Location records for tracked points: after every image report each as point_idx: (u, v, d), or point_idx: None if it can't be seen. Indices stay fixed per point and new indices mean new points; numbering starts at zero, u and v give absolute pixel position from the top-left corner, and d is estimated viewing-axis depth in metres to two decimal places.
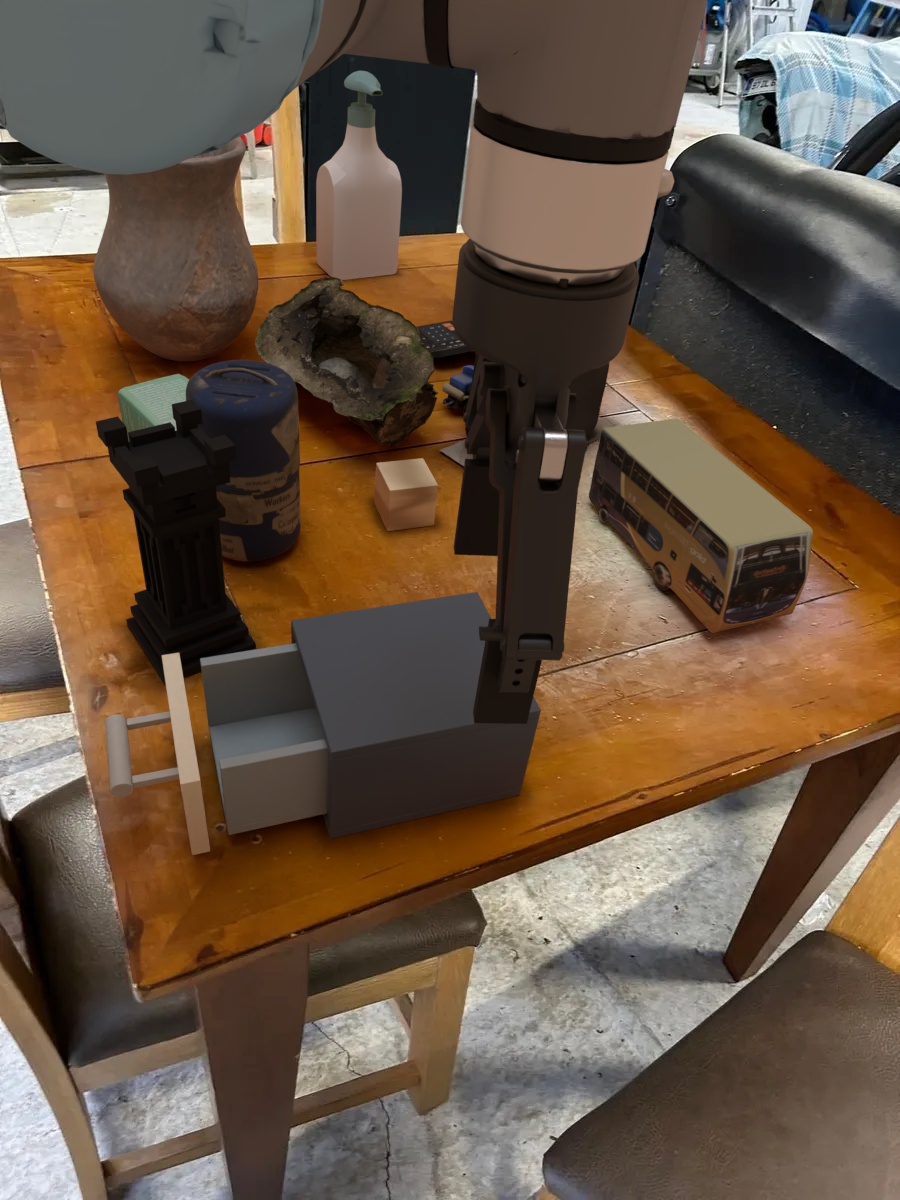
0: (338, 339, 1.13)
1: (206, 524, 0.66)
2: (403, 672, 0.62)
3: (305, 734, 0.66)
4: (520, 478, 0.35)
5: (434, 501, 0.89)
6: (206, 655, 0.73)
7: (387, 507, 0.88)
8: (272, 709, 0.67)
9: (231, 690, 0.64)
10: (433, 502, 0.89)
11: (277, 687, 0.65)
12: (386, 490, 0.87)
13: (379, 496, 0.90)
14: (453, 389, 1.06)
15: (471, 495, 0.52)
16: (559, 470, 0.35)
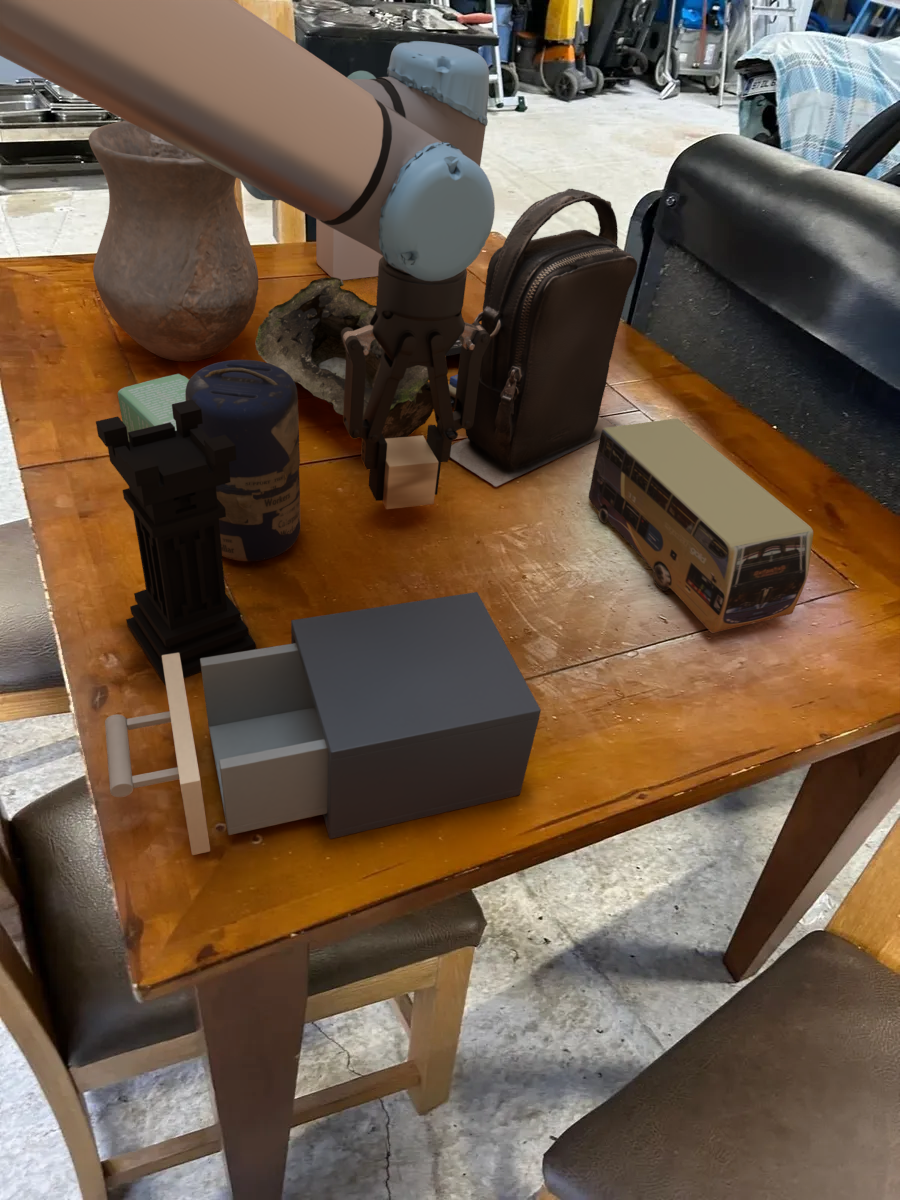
0: (338, 340, 1.13)
1: (206, 524, 0.66)
2: (403, 672, 0.62)
3: (305, 734, 0.66)
4: (346, 348, 0.79)
5: (434, 479, 0.87)
6: (206, 655, 0.73)
7: (386, 484, 0.86)
8: (272, 709, 0.67)
9: (231, 690, 0.64)
10: (433, 480, 0.87)
11: (277, 687, 0.65)
12: (385, 467, 0.85)
13: None
14: (453, 389, 1.06)
15: None
16: (348, 352, 0.77)
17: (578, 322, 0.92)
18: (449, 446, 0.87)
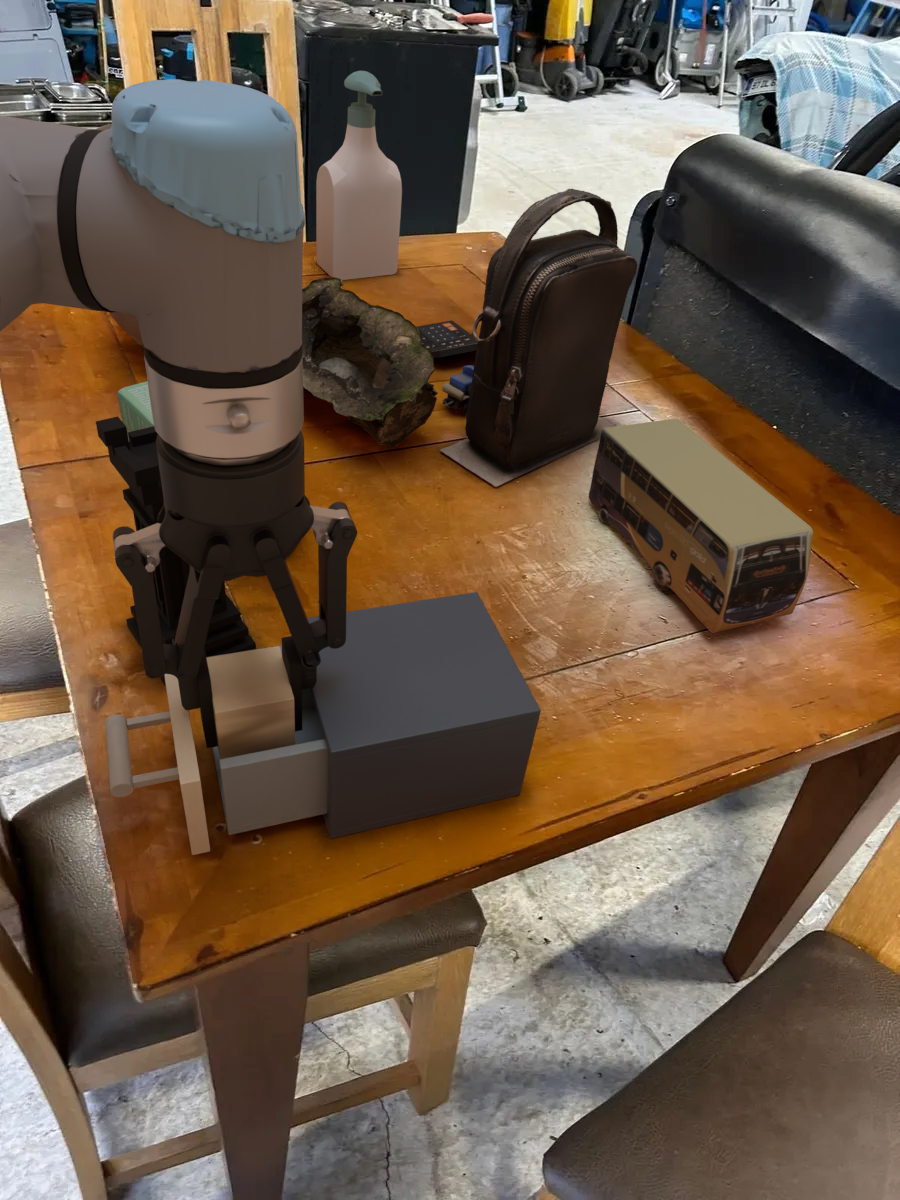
0: (338, 339, 1.13)
1: None
2: (403, 672, 0.62)
3: (305, 734, 0.66)
4: None
5: (291, 719, 0.58)
6: (206, 655, 0.73)
7: (216, 732, 0.57)
8: None
9: None
10: (290, 720, 0.58)
11: None
12: (213, 708, 0.57)
13: None
14: (453, 389, 1.06)
15: None
16: None
17: (578, 322, 0.92)
18: (313, 669, 0.58)
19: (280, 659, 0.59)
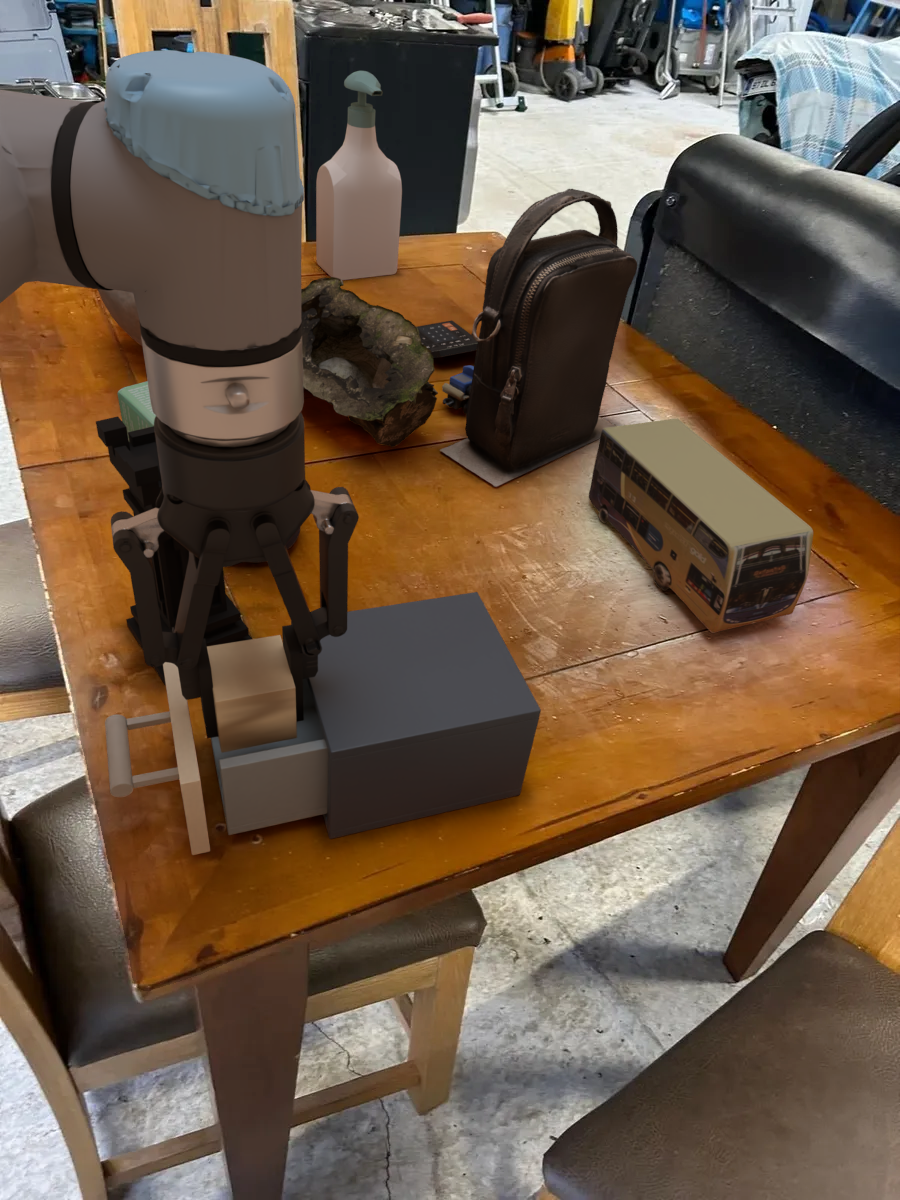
0: (338, 339, 1.13)
1: None
2: (403, 672, 0.62)
3: (305, 734, 0.66)
4: None
5: (292, 708, 0.57)
6: None
7: (217, 721, 0.56)
8: None
9: None
10: (291, 710, 0.57)
11: None
12: None
13: None
14: (453, 389, 1.06)
15: None
16: None
17: (578, 322, 0.92)
18: (314, 658, 0.58)
19: (281, 648, 0.59)
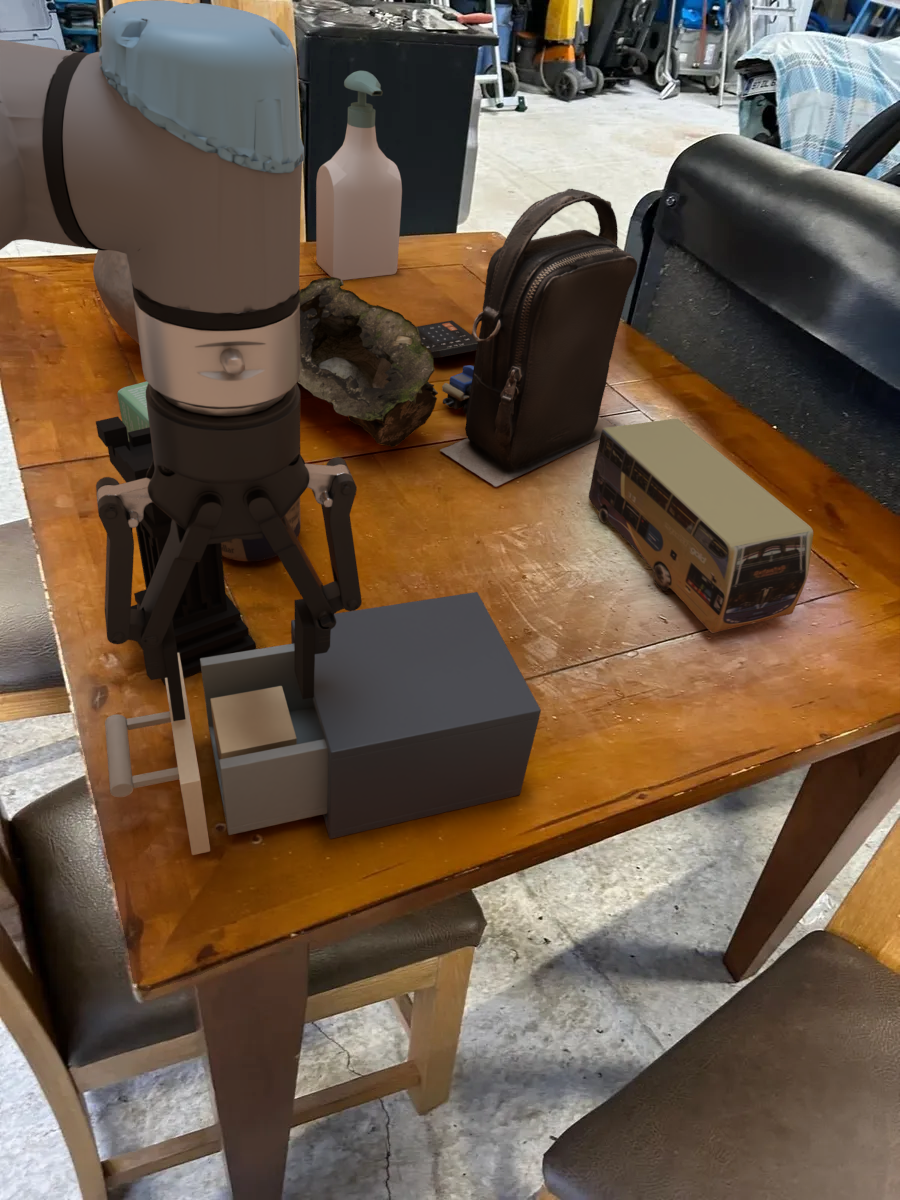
0: (338, 340, 1.13)
1: None
2: (403, 672, 0.62)
3: (305, 734, 0.66)
4: None
5: None
6: (206, 655, 0.73)
7: None
8: None
9: (231, 690, 0.64)
10: None
11: None
12: (219, 748, 0.59)
13: (216, 744, 0.62)
14: (453, 389, 1.06)
15: (296, 628, 0.58)
16: None
17: (578, 322, 0.92)
18: (327, 632, 0.57)
19: (283, 699, 0.62)
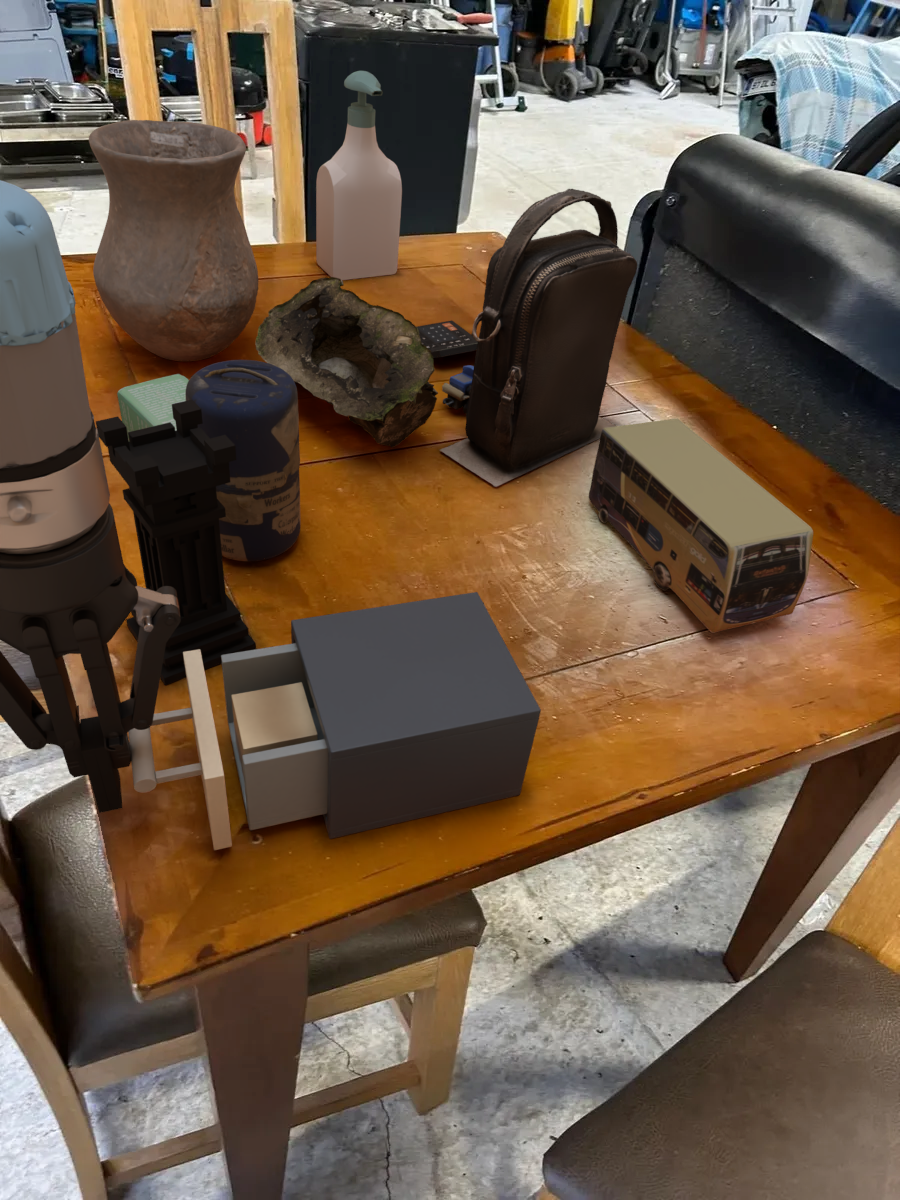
0: (338, 339, 1.13)
1: (206, 524, 0.66)
2: (403, 672, 0.62)
3: None
4: None
5: None
6: (206, 655, 0.73)
7: None
8: None
9: (251, 687, 0.65)
10: None
11: None
12: (241, 744, 0.60)
13: (237, 740, 0.63)
14: (453, 389, 1.06)
15: None
16: None
17: (578, 322, 0.92)
18: (125, 749, 0.57)
19: (303, 695, 0.62)
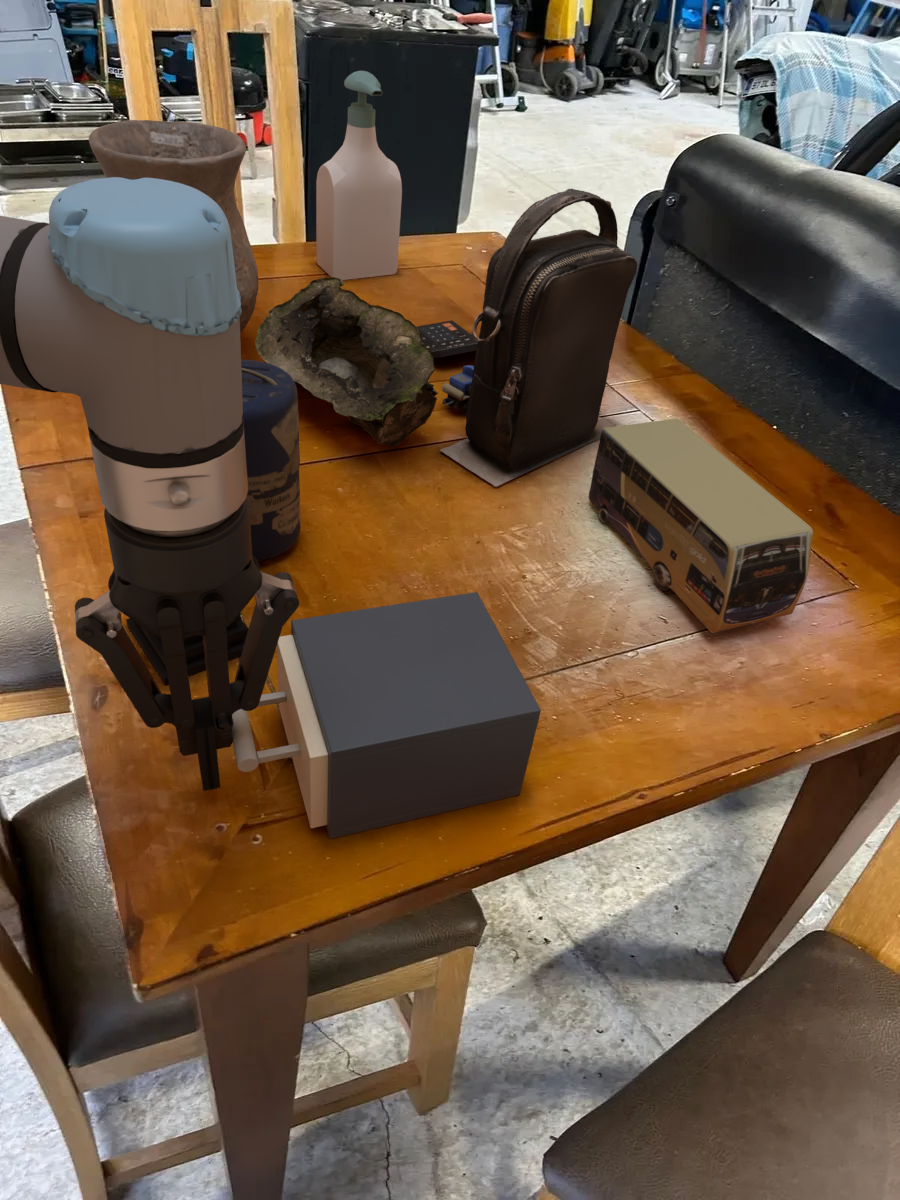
0: (338, 339, 1.13)
1: None
2: (403, 672, 0.62)
3: None
4: None
5: None
6: None
7: None
8: None
9: None
10: None
11: None
12: None
13: None
14: (453, 389, 1.06)
15: None
16: None
17: (578, 322, 0.92)
18: (228, 729, 0.59)
19: None
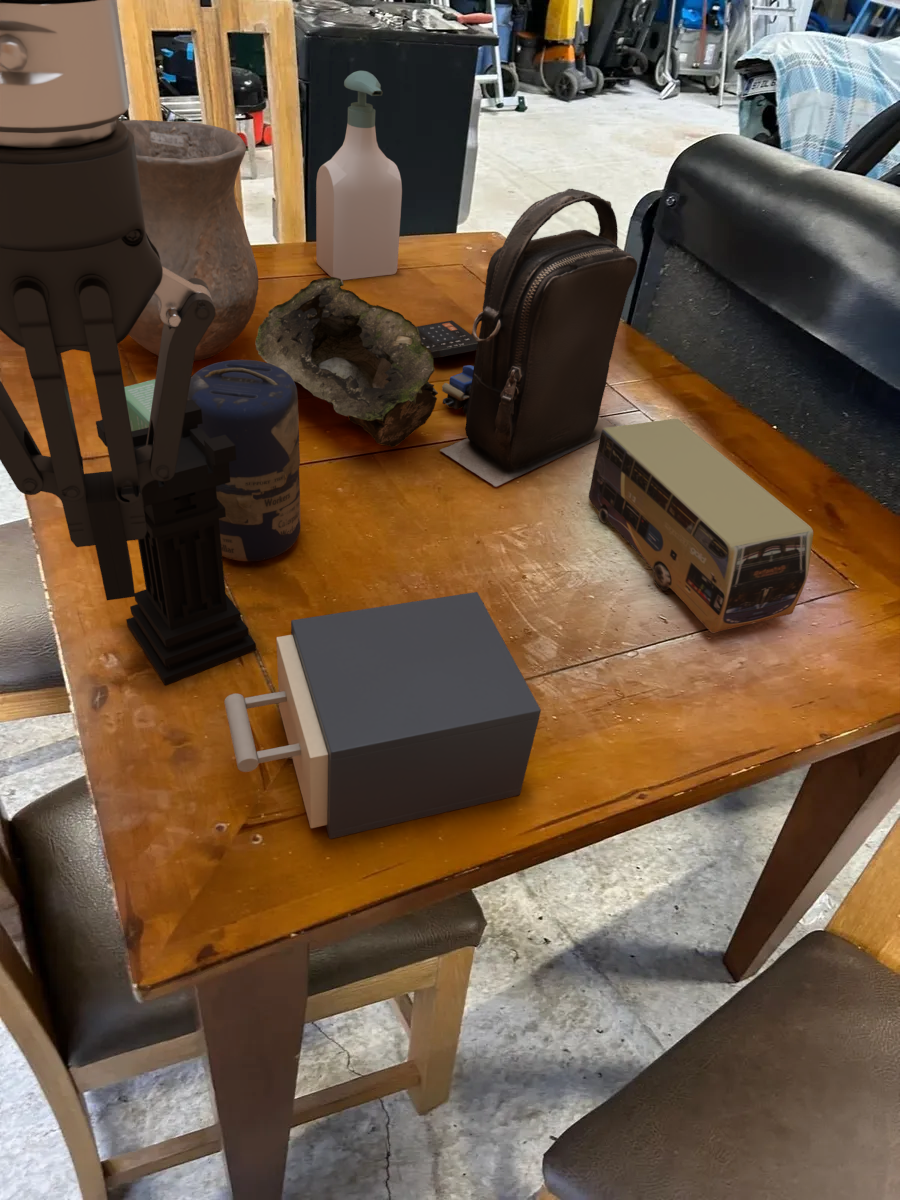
0: (338, 339, 1.13)
1: (206, 524, 0.66)
2: (403, 672, 0.62)
3: None
4: None
5: None
6: (206, 655, 0.73)
7: None
8: None
9: None
10: None
11: None
12: None
13: None
14: (453, 389, 1.06)
15: None
16: None
17: (578, 322, 0.92)
18: (140, 512, 0.46)
19: None
